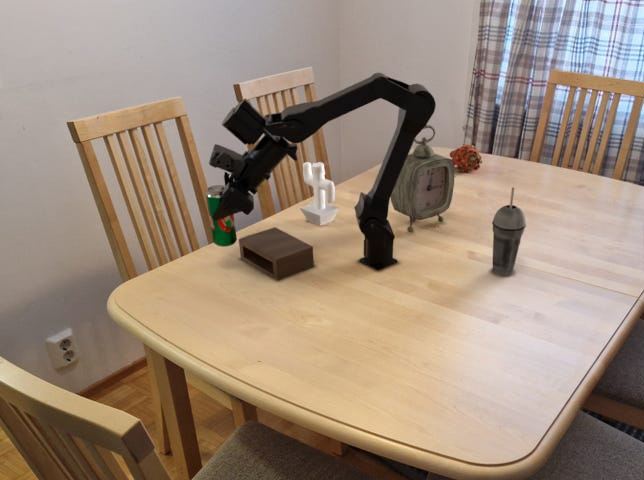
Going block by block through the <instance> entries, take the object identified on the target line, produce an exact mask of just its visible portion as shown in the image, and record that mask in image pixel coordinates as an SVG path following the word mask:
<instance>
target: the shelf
mask: <svg viewBox="0 0 644 480" xmlns="http://www.w3.org/2000/svg"><path fill="white" fill-rule="evenodd" d="M238 244H239V245H238V246H239V252H240V254H239V255H240V260H242V261H244V262H245V263H247V264H248V265H250V266H253V267H254V268H255V269H257V270H259V271H261V272H262V273H264V274H266V275H267V276H269V277H270V278H272V279H274V280H276V281H281V280H282V279H285V278H289V277H291V276H294V275H296V274H299V273H301V272H304V271H306V270H309V269H311V268H314V267H315V263H314V246H313V245H311V244H309V243H307V242H305V241H303V240H301V239H299V238H297V237H296V236H293V235H291V234H289V233H287V232H285V231H283V230H282V229H280V228H278V227H276V226H274V227H271V228H268V229H265V230H262V231H259V232H256V233H252V234H249V235H247V236H243V237H240V238H238Z"/></svg>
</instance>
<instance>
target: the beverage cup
mask: <svg viewBox="0 0 644 480" xmlns="http://www.w3.org/2000/svg"><path fill="white" fill-rule="evenodd" d="M514 194H515V187H511V193H510V201H509V204H506V205H503V206H502V207H500V208H499V209H498V210H497V211H496V212H495V214H494V216H493V219H492V222H491V223H492V233H493V234H492V237H493V238H492V264H491V265H492V273H493V274H495V275H497V276H500V277H508V276H511V275H513V271H514V268H515V266H516V265H515V264H516V261H517V256H518V252H519V249H520V244H521V240H522V236H523V235H524V232H525V228H526V225H527V224H526V216H525V213H524V211H523V210H522V209H521V208H520V207H518V206H517V205H515V204H513V203H514Z"/></svg>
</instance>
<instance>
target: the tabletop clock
mask: <svg viewBox="0 0 644 480" xmlns="http://www.w3.org/2000/svg"><path fill="white" fill-rule="evenodd" d="M425 129H431V130H432V136H431V137H430V138H428V139H427V137H425V136H424V137H421V140H420V141H419V140H417V139H416V138H415V140H414V143H415V144H416V146H415V147H414V149H413V151H412V153H409V154H408V156H407V159H406V161H405V163H404V166H403V168H402V171H401V173H400V175H399V178H398V180H397V182H396V185H395V187H394V190H393V192H392V194H391V197H390V202H391V204H392V208H393V210H394V211H396V212H398V213H400V214H402V215H405V217H409V226H408V227H407V232H408V233H410V234H411V233H414V231H415V228H414V227H413V224H414V223H416V222H417V221H423V220H425V219H430V218H434V217H436V216H437V217H438V218H437V221H438V222H439V223H441V224H442V223H443V222H445V218H444V217H443V216H442V215H441V214H443V213H444V212H446V211H447V210H448V209H449V208H450V206H451V203H452V200H453V194H454V186H455V166H454V163H453V160H452V158H449V157H446V156H443V155H440V154H438V153H435V152H434V150H433V148H432V146H431V145H429V144H428V143H430V142H432V141H433V139H434V138H435V136H436V129H435V127H434V126H433V125H431V124H427V125H426V126H425V127H424V128H423V129H422V130H425ZM417 144H418V145H417Z"/></svg>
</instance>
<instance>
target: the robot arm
mask: <svg viewBox="0 0 644 480" xmlns="http://www.w3.org/2000/svg"><path fill="white" fill-rule="evenodd" d="M380 99H381V100H384V101H386V102H388V103H389V104H392V105H394V106H395V107H398V114H397V123H396V127H395V130H394V133H393V136H392V138H391V140H390V143H389V146H388V148H387V151H386V153H385V155H384V158H383V159H382V163H381V164H380V165H381V166H380V168H379V171H378V173H377V175H376V178H375V180H374V183H373V185H372V187H371V189H370V190H369V191H368V192H367V193H364V192H362V191H360V193H359V197H358V201H357V203H356V205H355V206H354V207H353V209H354V212H355V218H356V223H357V225H358V229H359V231H360V232H361V234H362V235H364V238H363V257H361V258H359V262H360V263H362V264H364V265H366V266H368V267H370V268H371V269H373V270H375V271H381V270H384V269H385V268H388V267H391V266H393V265H395V264H398V261H399V260H398V259H397V258H395V257H394V241H395V238H396V236H395V234H394V230H393V228H392V225H391V223H390V221H389V220H388V217H389V216H388V215H389V207H390V201H391V194H392V192H393V190H394V187H395V185H396V182H397V180H398V178H399V175H400V173H401V171H402V168H403V166H404V163H405V161H406V159H407V156H408V155H409V154H410V151H411V148H412V146H413V144H414V143H415V141H414V140H415V139H416V137H418V135H419V134H420V133H421V132H422V131H423V130H424V129H423V128H424V127H425V126H426V125H428V123H429V121H430V120H431V119H432V117H433V115H434V114H435V111H436V106H437V103H436V100H435V97H434V96H433V95H432V94H431V92H430V91H429V90H428V89H427V88H426V87H425V86H424V85H423V84H419V83H412V84H409V83H406V82H404V81H401V80H398V79H396V78H392V77H389V76H388V75H386V74H384V73H382V72H375V73H373V74H372V75H371V76H369V77H367V78H365V79H363V80H360V81H358V82H356V83H354V84H352V85H349V86H347V87H345V88H343V89H341V90H339V91H336V92H335V93H334V92H333V93H332V94H330V95H328V96H325V97H323V98H321V99H319V100H315V101H308V102H301V103H297V104H293V105H289V106H287V107H285V108H284V109H283V110H282V111H281V112H275V113H270V114H269V113H268V114H264V115H263V114H262V113H261V112H260V111H258V110H257V109H256V108H255V107H254V106H253V105H252V103H251V102H250V101H249V100H248V99H247V98H243V99H242V100H241V101H240V102H239V103H237V105H236V106H235V107H232V108H231V110H230V111H229V112H228V113H227V114H226V116H225V117H224V119H223V120H222V122H221V126H222V127H223V128H225V129H226V130H227V131H228V132H230V133H231V135H232V136H234V137H235V138H236V139H237V140H238V141H240V143H242V144H243V145H249V146H251V145H254V146H253V147H252V149H250V150H245V151H244V152H243V153H242V154H241V153H238V152H237V151H235V150H232V149H230V148H228V147H225V146H224V145H223V146H222V145H220V144H214V146H213V149H212V150H211V154H210V158H209V162H208V164H209V166H211V167H212V168H215V169H216V168H218V169H221V170H223V171H224V174H223V180H224V186H225V188H224V187H222V195H223V199H222V201H221V202H220V204H219V206H218V207H217V209H216V210H215V212H214V214H213V216H212V219H214V220H215V221H217V220H219V219H222V218H225V217H227V216H230V215H233V214H234V215H235V214H238V213H243V214H245V215H246V216H249V215H250V214H251V213H252V211H253V210H254V209H255V199H254V196H255V195H256V194H257V193H258V188H259V187H261V185H262V184H263V183H264V181H265V180H266V181H269V179H270V178H271V176H272V175H271V174H272V172H274V170H275V169H276V168H278V166H279V165H280V164H281V163H282V161H284V159H285V158H286V157H287V156H288V157H290V158H291V159H292V160H293V161H294V162H297V161H298V148H299V147H298V144H300V143H303V142H304V141H306V140H307V139H308V138H310V137H312V136H313V135H314V134H317V132H318V131H319V130H320V129H321V128H323V127H324V126H325V125H326V124H328V123H329V122H331V121H333V120H337V119H338V118H340V117H343V116H344V115H346V114H348V113H351V112H353V111H356V110H357V109H359V108H362V107H364V106H366V105H369V104H371V103H373V102H375V101H377V100H380ZM261 137H262V138H261Z"/></svg>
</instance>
